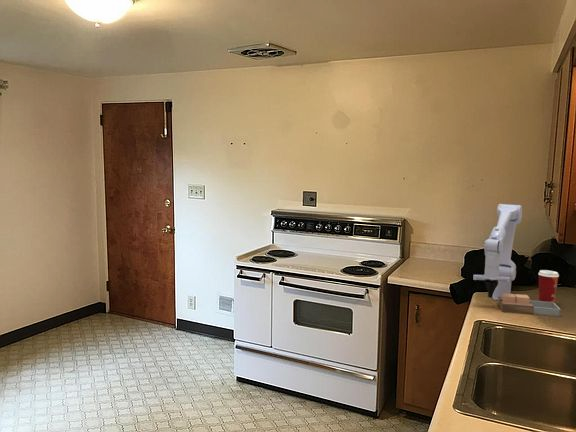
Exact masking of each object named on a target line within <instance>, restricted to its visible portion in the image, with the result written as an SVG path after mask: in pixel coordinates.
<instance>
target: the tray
mask: <svg viewBox="0 0 576 432" xmlns="http://www.w3.org/2000/svg"><path fill="white" fill-rule="evenodd" d="M530 302H531V304H532V305H533V306H534V310H533V315H539V316H549V317H561V312H562V310H561V308H560V307H559V306H558V305H557V304H556V303H555V301H554V302H544V301H539V300H533V299H532V300H531V299H530Z"/></svg>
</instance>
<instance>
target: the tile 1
mask: <svg viewBox="0 0 576 432" xmlns="http://www.w3.org/2000/svg"><path fill="white" fill-rule="evenodd" d="M501 300H502V301H503V302H512V303H515V300H516V297H515V294H514V293H510V294H507V293H501Z"/></svg>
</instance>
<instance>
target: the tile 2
mask: <svg viewBox="0 0 576 432" xmlns="http://www.w3.org/2000/svg"><path fill="white" fill-rule="evenodd" d="M514 295H515V297H516V300H515V301H516V303H524V304H529V302H530V300H531V298H530V297H529V295H528V294H519V293H518V294H516V293H515V294H514Z"/></svg>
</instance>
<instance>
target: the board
mask: <svg viewBox="0 0 576 432" xmlns="http://www.w3.org/2000/svg"><path fill="white" fill-rule="evenodd" d="M497 306H498V307H499V309H500V310H501V312H503V313H511V314H520V315H521V314H523V315H534V314H533V310H534V306H533V305H532V304H531V302H529V304H524V303H516V301H515V303H512V302H503V301H502V300H501V297H499V296H498V300H497Z"/></svg>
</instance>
